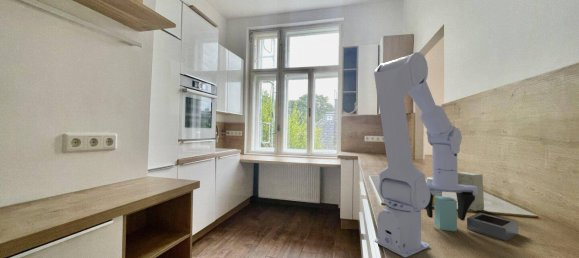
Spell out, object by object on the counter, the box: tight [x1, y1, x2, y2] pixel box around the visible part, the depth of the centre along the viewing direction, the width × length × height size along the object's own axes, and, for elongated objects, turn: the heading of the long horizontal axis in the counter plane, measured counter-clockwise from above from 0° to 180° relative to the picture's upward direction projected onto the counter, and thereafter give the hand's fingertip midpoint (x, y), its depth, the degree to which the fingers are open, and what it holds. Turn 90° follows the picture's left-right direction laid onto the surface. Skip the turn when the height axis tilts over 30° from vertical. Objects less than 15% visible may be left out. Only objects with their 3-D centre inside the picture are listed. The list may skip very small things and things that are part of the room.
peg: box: [433, 195, 458, 232], centre depth 62 cm, size 4×4×8 cm
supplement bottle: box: [426, 176, 443, 206], centre depth 81 cm, size 5×5×10 cm
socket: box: [466, 212, 519, 242], centre depth 59 cm, size 8×8×3 cm
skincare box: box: [457, 171, 485, 212], centre depth 78 cm, size 6×4×12 cm
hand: (445, 217), depth 62 cm, fingers open, 7 cm apart
